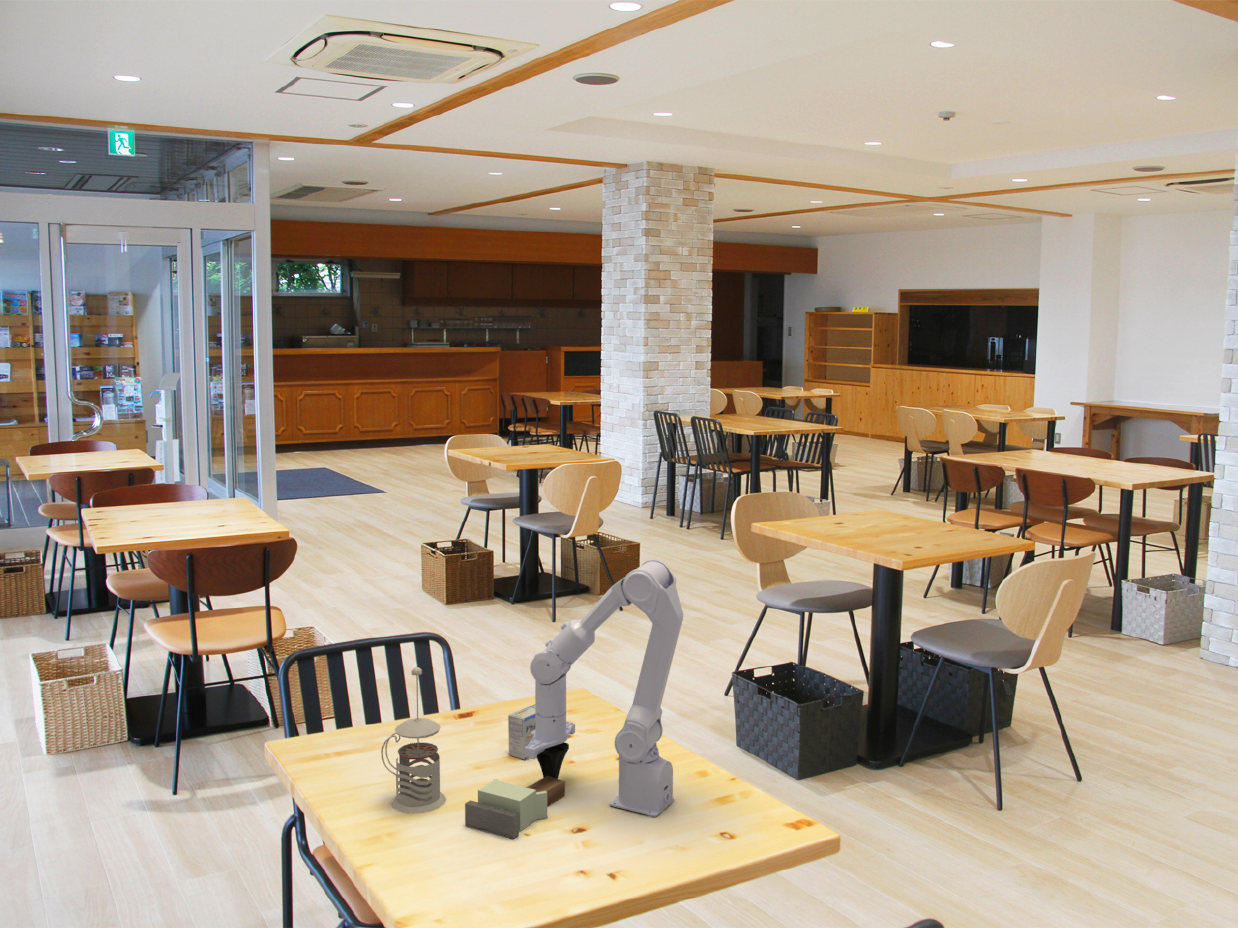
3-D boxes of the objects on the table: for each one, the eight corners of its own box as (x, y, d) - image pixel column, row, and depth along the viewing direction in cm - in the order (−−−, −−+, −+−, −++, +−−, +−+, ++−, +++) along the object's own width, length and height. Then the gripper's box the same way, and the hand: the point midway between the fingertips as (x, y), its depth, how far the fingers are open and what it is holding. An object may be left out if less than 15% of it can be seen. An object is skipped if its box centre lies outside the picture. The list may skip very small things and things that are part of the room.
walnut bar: (564, 796, 190) (564, 780, 189) (516, 825, 178) (516, 808, 178) (547, 790, 192) (547, 775, 191) (498, 819, 180) (498, 803, 180)
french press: (434, 815, 181) (432, 678, 178) (372, 809, 184) (369, 673, 181) (454, 792, 191) (452, 661, 188) (395, 786, 193) (392, 656, 190)
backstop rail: (518, 835, 174) (518, 812, 174) (513, 839, 173) (513, 816, 172) (470, 822, 179) (470, 800, 178) (465, 825, 178) (465, 803, 177)
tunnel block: (548, 816, 181) (548, 787, 181) (526, 832, 175) (526, 802, 174) (495, 802, 187) (494, 773, 186) (471, 817, 180) (471, 788, 180)
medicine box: (524, 760, 205) (524, 718, 204) (507, 755, 208) (507, 713, 207) (550, 748, 212) (550, 707, 211) (534, 743, 214) (534, 703, 213)
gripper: (553, 696, 199) (553, 763, 201) (510, 720, 186) (511, 792, 188) (584, 702, 196) (584, 771, 197) (543, 727, 183) (543, 800, 185)
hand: (550, 782), depth 193 cm, fingers closed
